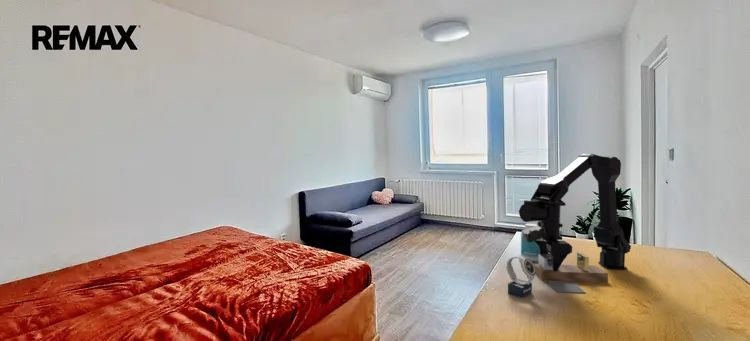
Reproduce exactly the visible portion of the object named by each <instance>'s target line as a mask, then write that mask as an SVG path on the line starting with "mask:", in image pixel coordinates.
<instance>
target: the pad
mask: <svg viewBox="0 0 750 341" xmlns="http://www.w3.org/2000/svg"><path fill="white" fill-rule="evenodd" d="M545 282H546V283H547V284H548V286H550V287H551V289H553V290H554V291H555V292H556V293H563V294H564V293H565V294H586V291H585V290H584V289H582V288H581V287H580V286H579V285H578V284H576V283H575V281H545Z"/></svg>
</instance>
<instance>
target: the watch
mask: <svg viewBox="0 0 750 341" xmlns="http://www.w3.org/2000/svg"><path fill="white" fill-rule="evenodd" d="M514 259H518V261H519V263H520V268H521V271H522V272H523V274H524V275H526V278H527V280H524V279H520V278H518V277H517V275H516V273H515V270H514V267H513V265H512V264H513V263H512V262H513V260H514ZM534 264H535V263H534V262H532V261H531V260H529V259H527V258H526V257H523V256H521V255H515V256H512V257H510V258H509V259H507V261H506V266H505V267H506V272H507V274H508V276H509V278H510V280H512V281H509V282H507V294H509V295H511V296H515V297H518V298H520V299H524V298H526V297H527V296H530V295H531V294H532V293H533V292H532V291H533V286H532V285H533V280H534V279H535V276H536V274H535V273H536V269H535V266H534Z"/></svg>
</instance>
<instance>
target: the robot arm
mask: <svg viewBox="0 0 750 341" xmlns="http://www.w3.org/2000/svg"><path fill="white" fill-rule="evenodd" d="M589 169H591V174H592V176H593V177H594V179H595V181H597V186H598V187H597V190H598V205H599V208H598V209H599V222H598V224H597V225H596V226H595V225H594V226H593V238H594V239H595V242H596V246H597V248H601V251H600V252H599V261H598V264H600V266H603V267H604V268H606V269H609V270H628V267H627V266H625V262H626V254H628V253H630V252H631V248H632V245H630V243H629V242H628V241H627V239H626V237H625V234H624V228H622V227H621V225H620V223H619V221H618V216H617V215H618V213H617V212H618V211H617V193H616V192H617V191H616V181H617V180H618V178H619V177H620V175H621V169H622V162H621V160H620V159H619V158H618V157H616V156H602V155H597V154H594V153H582V154H579V155H578V156H577V158H576V159H575V160H574V161H573V162H571V163H570V164H569V165H568V166H566V167H565V168H564V169H563V170H561V171H560V172H559V173H558V174H556V175H555V176H551V177H548V178H546V179H544V180H542V181H541V182H539V184H538V185H537V188H536V190H535V191H534V193H533V194H532V197H531V198H530V200H529V199H528V200H524V202H523V204H522V205H521V206H520V207H519V210H518V214H519V217H520V220H522V222H525V223H529V222H530V223H531V222H532V223H533V222H537V223H536V224H537V226H534V227H530V228H527V229H526V228H525V229H522V230H521V232H522V234H523V237H524V239H525V240H526V241H527V242H533V241H534V242H535V243H536V244H537V245H538V248H539V252H540V254H551V259H552V267H553V271H557V270H558V269H559V267H560V265H563V262H564V260H565V259H566V258H567V257H568V255H570V254H572V253H573V246H572V244H570V242H567V241H566V240H563V236H562V235H561V234H560V233H561V228H563V223H561V207H564V206H566V205H567V204H566V202H565V201H563V200H562V199H563V198H564V197H565V196H566V195H567V193H568V192H569V187H570V185H571V184H574V183H575V181H576V180H578V179H579V178H580V177H581V176H583V174H585V172H587V171H589Z"/></svg>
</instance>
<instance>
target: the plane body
mask: <svg viewBox="0 0 750 341" xmlns="http://www.w3.org/2000/svg"><path fill="white" fill-rule="evenodd" d="M533 264H534V266H535V269H536V273H535V276H537V277H538V278H539V279H540V280H541V281H545V282H546V281H566V282H574V283H575V282H576V283H577V282H580V283H581V282H582V283H608V282H609V273H608V272H606V270H604V269H603V268H602V267H601V268H600V267H599V266H597V265H590V264H589V269H588V271H584V270H582V269H581V268H580V267H578V266H577V264H561V265H560V271H547V270H543V269H542V268H541V267H540V266H539V265H538V263H533Z"/></svg>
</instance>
